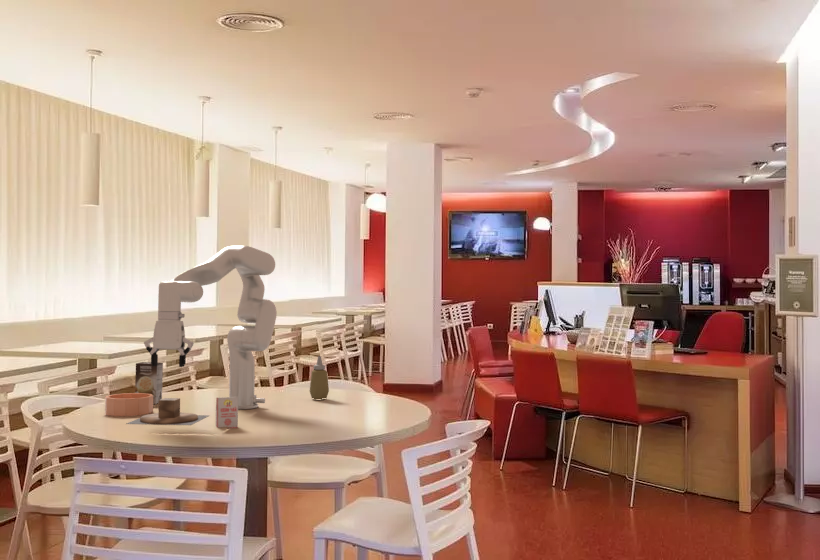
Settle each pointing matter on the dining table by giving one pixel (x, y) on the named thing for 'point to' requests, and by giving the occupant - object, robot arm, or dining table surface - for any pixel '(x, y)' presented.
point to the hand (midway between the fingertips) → (168, 366)
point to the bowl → (128, 404)
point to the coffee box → (149, 380)
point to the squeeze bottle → (319, 381)
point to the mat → (171, 424)
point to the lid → (169, 413)
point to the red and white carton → (227, 412)
